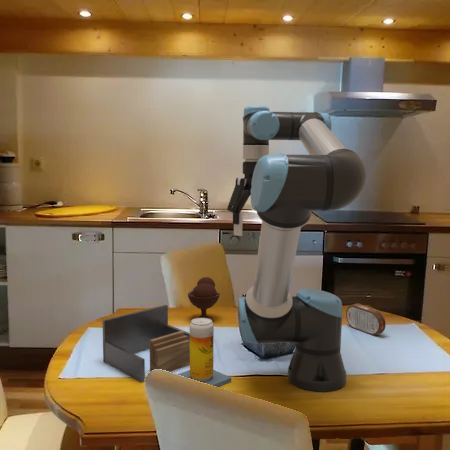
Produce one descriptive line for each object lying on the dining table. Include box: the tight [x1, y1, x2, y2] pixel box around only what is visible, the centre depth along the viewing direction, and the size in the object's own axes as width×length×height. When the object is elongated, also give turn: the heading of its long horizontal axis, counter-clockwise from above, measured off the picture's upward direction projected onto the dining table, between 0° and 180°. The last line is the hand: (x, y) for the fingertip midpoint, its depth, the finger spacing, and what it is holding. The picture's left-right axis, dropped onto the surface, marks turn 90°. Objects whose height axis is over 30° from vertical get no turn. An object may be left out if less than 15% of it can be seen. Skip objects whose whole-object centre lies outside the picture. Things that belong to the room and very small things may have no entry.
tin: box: [345, 303, 387, 336], centre depth 178 cm, size 15×3×8 cm, turn 34°
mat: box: [177, 369, 232, 388], centre depth 139 cm, size 11×11×1 cm
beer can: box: [189, 317, 215, 381], centre depth 138 cm, size 6×6×15 cm
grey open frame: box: [102, 304, 190, 383], centre depth 151 cm, size 18×22×12 cm
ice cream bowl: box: [187, 276, 221, 321], centre depth 187 cm, size 11×11×15 cm
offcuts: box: [149, 330, 190, 373], centre depth 147 cm, size 4×11×9 cm, turn 134°
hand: (254, 233), depth 160 cm, fingers open, 13 cm apart
